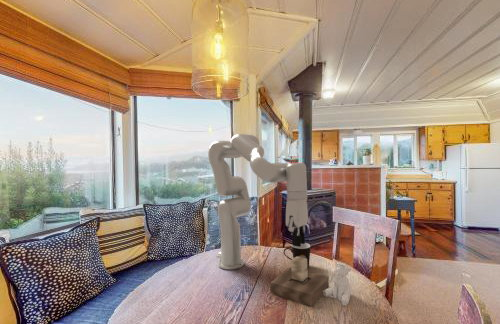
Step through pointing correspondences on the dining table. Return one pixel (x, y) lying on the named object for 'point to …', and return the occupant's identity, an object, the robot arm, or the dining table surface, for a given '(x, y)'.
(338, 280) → the sitting furry creature
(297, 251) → the coffee mug
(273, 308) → the dining table surface
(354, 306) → the dining table surface
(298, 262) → the birch peg
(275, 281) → the walnut board
